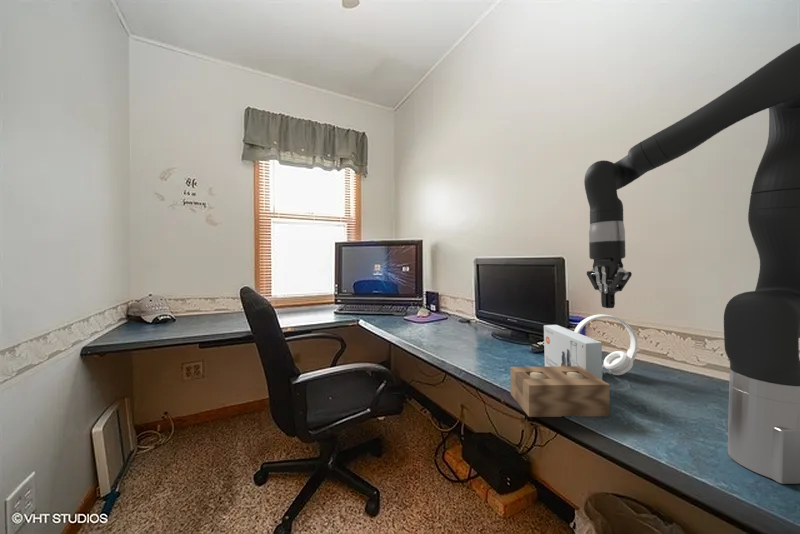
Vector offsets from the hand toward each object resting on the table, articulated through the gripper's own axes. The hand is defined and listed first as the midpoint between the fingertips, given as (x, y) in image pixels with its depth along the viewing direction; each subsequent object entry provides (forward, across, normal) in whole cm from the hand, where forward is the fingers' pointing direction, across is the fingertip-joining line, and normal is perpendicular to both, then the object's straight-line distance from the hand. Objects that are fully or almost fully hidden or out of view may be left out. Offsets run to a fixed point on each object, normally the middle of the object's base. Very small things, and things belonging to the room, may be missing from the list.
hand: (607, 307), depth 74 cm
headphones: (+26, +23, -16) cm, 38 cm away
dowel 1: (+26, +4, +17) cm, 32 cm away
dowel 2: (+26, +4, +7) cm, 28 cm away
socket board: (+26, +4, +12) cm, 29 cm away
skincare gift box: (+26, +18, 0) cm, 32 cm away
